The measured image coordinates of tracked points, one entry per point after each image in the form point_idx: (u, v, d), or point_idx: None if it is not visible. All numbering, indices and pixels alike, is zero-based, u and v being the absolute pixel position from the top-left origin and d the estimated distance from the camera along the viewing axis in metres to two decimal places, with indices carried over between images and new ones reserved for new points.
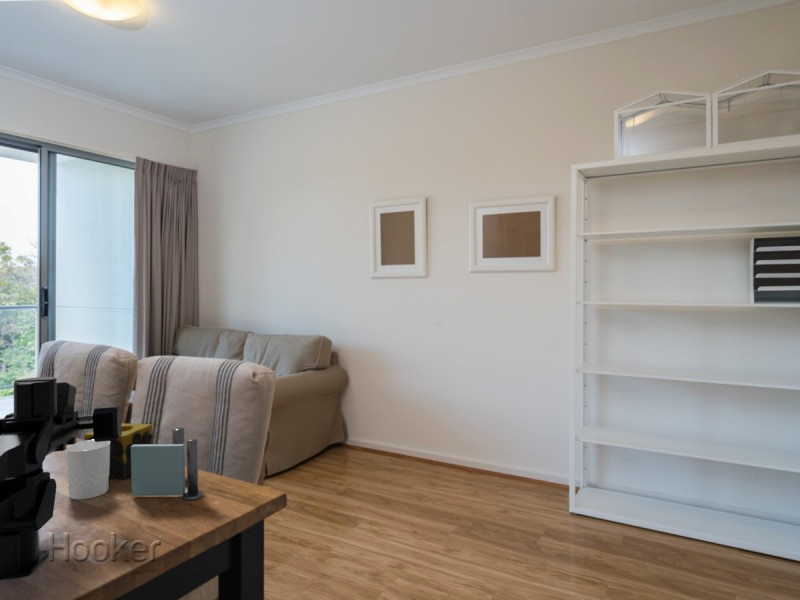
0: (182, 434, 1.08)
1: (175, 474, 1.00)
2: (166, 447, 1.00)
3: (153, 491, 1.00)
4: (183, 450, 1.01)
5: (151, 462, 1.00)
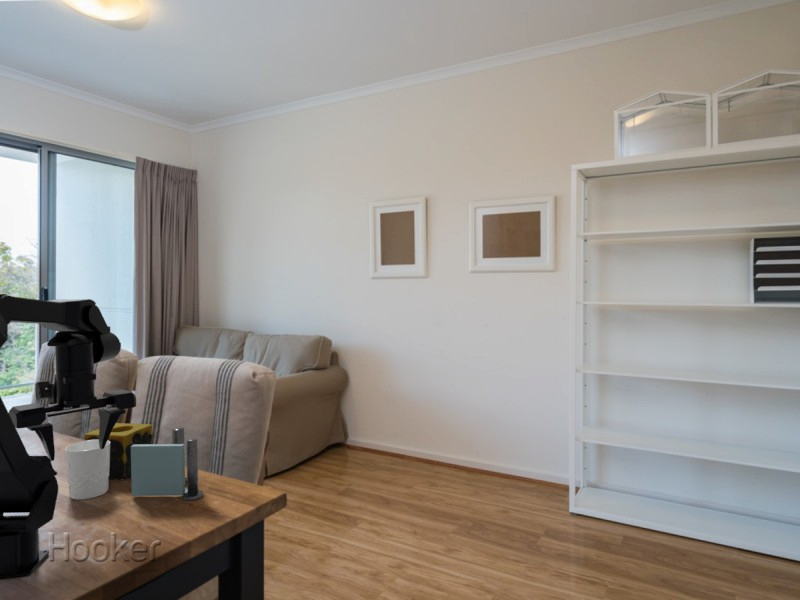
0: (182, 434, 1.08)
1: (175, 474, 1.00)
2: (166, 447, 1.00)
3: (153, 491, 1.00)
4: (183, 450, 1.01)
5: (151, 462, 1.00)
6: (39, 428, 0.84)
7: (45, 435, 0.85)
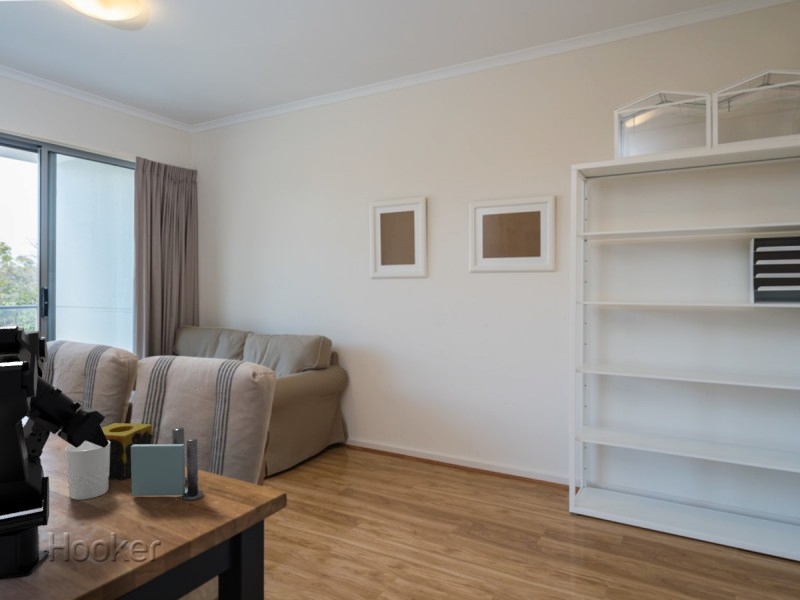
0: (182, 434, 1.08)
1: (175, 474, 1.00)
2: (166, 447, 1.00)
3: (153, 491, 1.00)
4: (183, 450, 1.01)
5: (151, 462, 1.00)
6: None
7: None
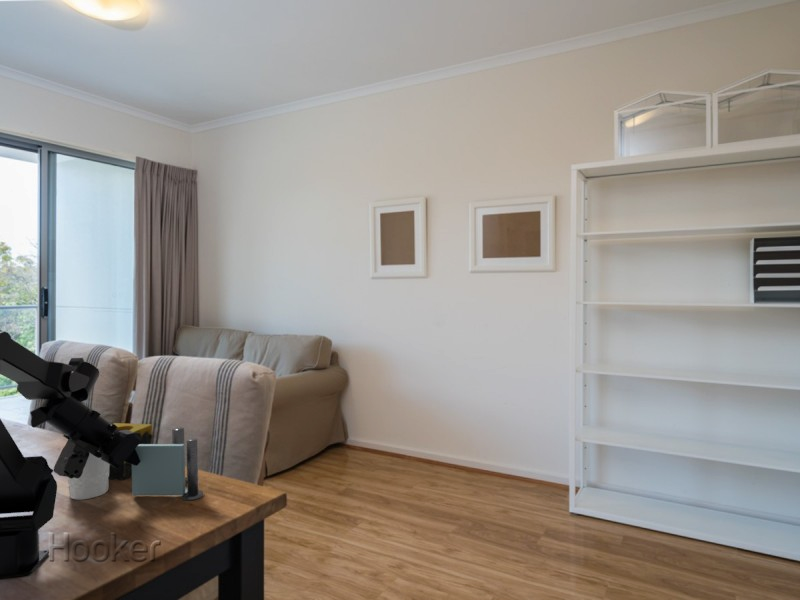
0: (182, 434, 1.08)
1: (175, 474, 1.00)
2: (166, 447, 1.00)
3: (153, 490, 1.00)
4: (183, 450, 1.01)
5: (151, 462, 1.00)
6: None
7: None
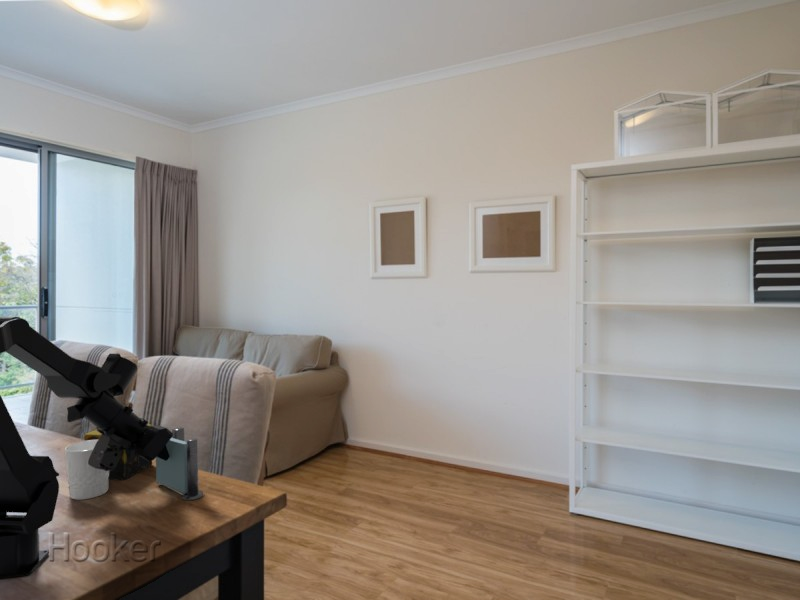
0: (182, 434, 1.08)
1: (180, 471, 1.02)
2: (175, 443, 1.03)
3: (167, 482, 1.04)
4: None
5: None
6: None
7: None
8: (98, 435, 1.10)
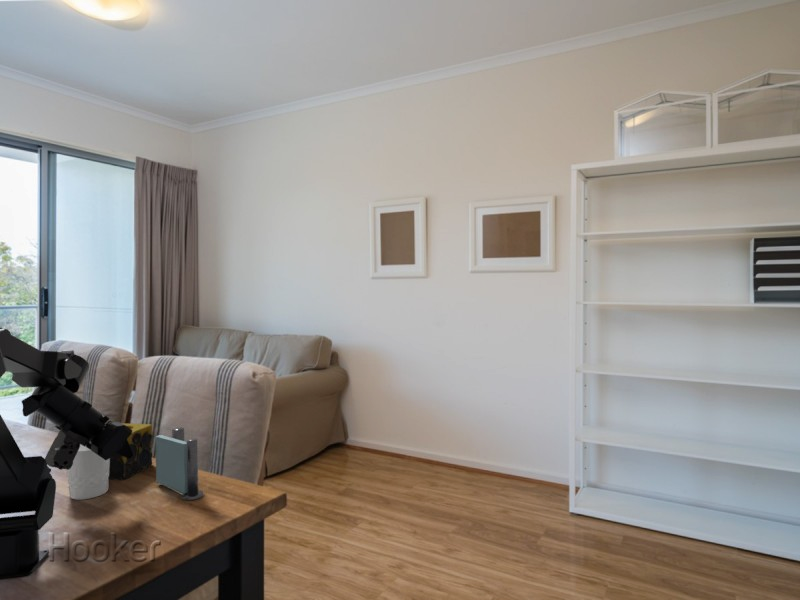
0: (182, 434, 1.08)
1: (180, 471, 1.02)
2: (175, 443, 1.03)
3: (167, 482, 1.04)
4: None
5: (166, 454, 1.04)
6: None
7: None
8: None
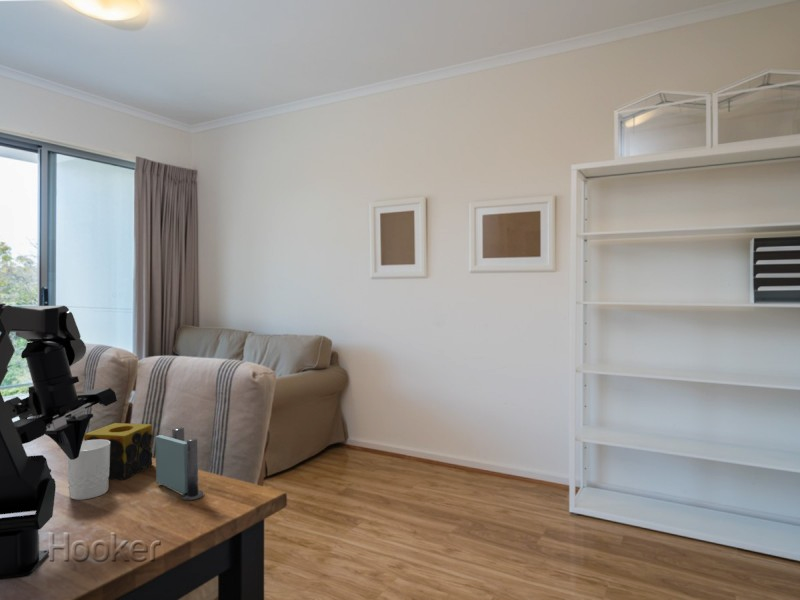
0: (182, 434, 1.08)
1: (180, 471, 1.02)
2: (175, 443, 1.03)
3: (167, 482, 1.04)
4: None
5: (166, 454, 1.04)
6: (64, 429, 0.86)
7: (69, 435, 0.87)
8: (98, 435, 1.10)
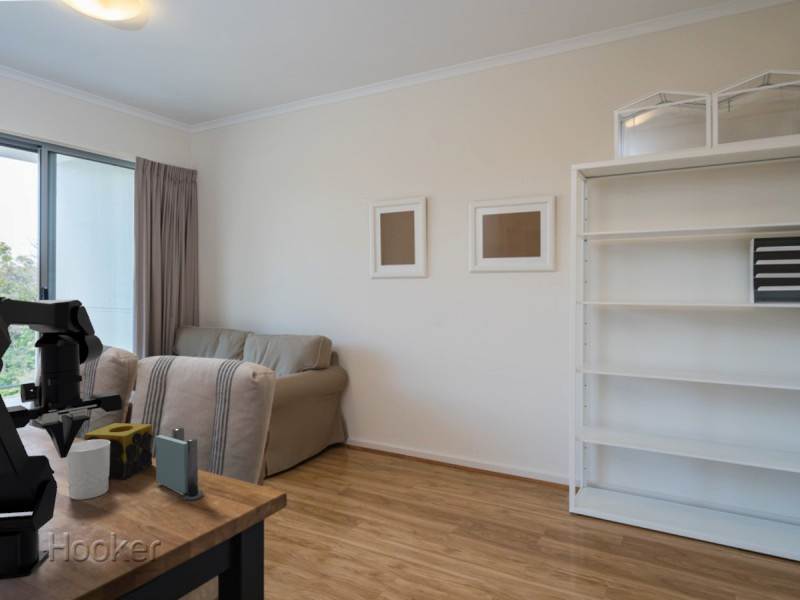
0: (182, 434, 1.08)
1: (180, 471, 1.02)
2: (175, 443, 1.03)
3: (167, 482, 1.04)
4: None
5: (166, 454, 1.04)
6: (50, 425, 0.85)
7: (56, 433, 0.86)
8: (98, 435, 1.10)
